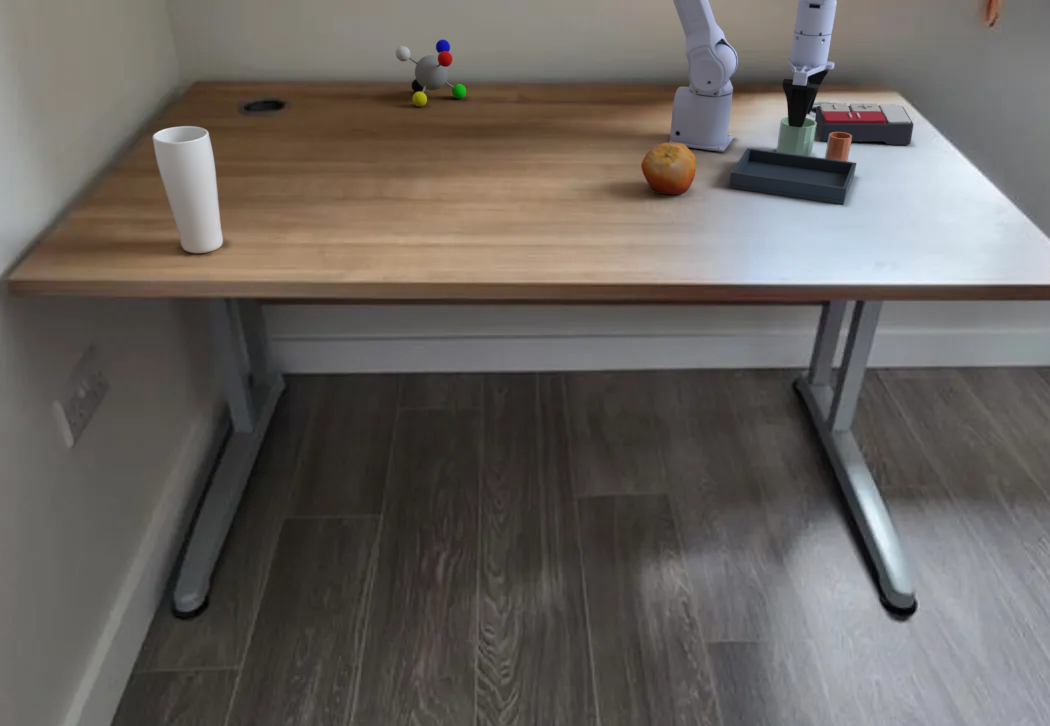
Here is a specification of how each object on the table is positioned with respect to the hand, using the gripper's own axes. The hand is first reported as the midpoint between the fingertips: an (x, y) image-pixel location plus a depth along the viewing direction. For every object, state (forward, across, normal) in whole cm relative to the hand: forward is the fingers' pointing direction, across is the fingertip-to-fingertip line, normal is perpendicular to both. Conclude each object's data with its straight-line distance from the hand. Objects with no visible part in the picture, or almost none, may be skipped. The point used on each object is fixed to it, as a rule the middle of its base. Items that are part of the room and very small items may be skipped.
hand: (799, 119), depth 159 cm
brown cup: (+6, -1, -7) cm, 9 cm away
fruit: (+6, -24, +15) cm, 29 cm away
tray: (+6, -13, -2) cm, 14 cm away
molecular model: (+6, +4, +69) cm, 69 cm away
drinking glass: (+6, -68, +66) cm, 95 cm away
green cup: (+6, 0, 0) cm, 6 cm away
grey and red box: (+6, +16, -9) cm, 19 cm away
